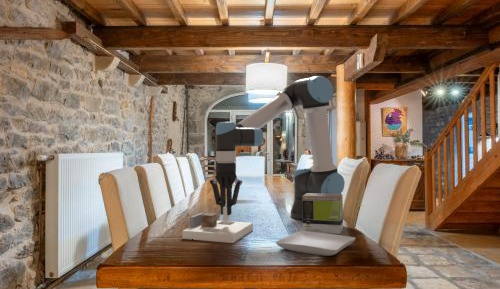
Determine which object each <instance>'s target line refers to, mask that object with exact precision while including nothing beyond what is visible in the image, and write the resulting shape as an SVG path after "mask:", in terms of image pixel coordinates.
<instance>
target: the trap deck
mask: <svg viewBox="0 0 500 289" xmlns="http://www.w3.org/2000/svg"><path fill="white" fill-rule="evenodd" d="M205 213H206V212H200V213H197V214H194V215H192V216H190V217H189V227H188V228H185V229H184V230H182V240H183V239H184V240H192V239H193V240H195V241H205V242H207V241H208V242H217V243H230V244H231V243H232V244H234V243H235V242H237V241H239V240H241V239H242V238H243V237H245V236H246V235H248V234H249V233H251V232H253V231H254V230H253V228H254V226H253V225H254V222H246V221H245V222H244V221H230V220H229V223H228V224H223V220H218V219H217V225H216V226H214V227H201V215H203V214H205Z"/></svg>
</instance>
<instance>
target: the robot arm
mask: <svg viewBox="0 0 500 289" xmlns="http://www.w3.org/2000/svg"><path fill="white" fill-rule="evenodd" d="M275 96H276V97H274V98H272V99H270V100H269V101H268V102H267V103H265V104H264V105H262V106H261V107H260V108H258V109H256V110H255V111H253V112H252V113H251V114H249V115H248V116H246V117H245V118H244V119H242V120H241V121H239V122H238V123H236V122H234V121H219V122H217V123H216V125H215V161H216V164H215V169H216V170H215V172H216V174H215V175H214V176H215V177H214V178H212V179H210V180H209V183H210V186H212V190H213V191H212V192H213V195H214V200H215V205H217V206H219V207H220V215H222V221H223V224H228V223H229V221H230V216H231V215H232V206H235V205H237V202H238V198H239V193H240V189H241V188H240V187H241V186H242V184H243V180H241V179H239V178H238V176H237V174H236V172H237V166H236V164H237V163H235V162H236V159H237V158H236V153H237V152H236V150H237V149H236V148H237V147H238V148H239V147H253V148H254V147H260V146H262V144H263V142H264V132H263V130H262V128H263V127H264V126H266V125H268V124H269V123H271V121H273V120H275V119H276V118H277V117H279V116H280V115H281V114H283V113H284V112H286V111H288V112H289V111H291V110H292V109H293V108H296V107H300V106H302V110H303V111H305V113H306V115H307V122H308V123H307V124H308V132H309V138H310V139H309V140H310V145H311V152H312V153H311V155H312V162H313V163H312V164H313V166H312V167H309V168H299V169H295V171H294V173H293V174H294V176H293V193H294V194H293V195H294V197H293V203H292V207H291V210H290V217H291V218H292V219H296V220H297V219H298V220H302V196H303V195H305V194H307V193H320V194H342V192H344V190H345V185H346V184H345V178H344V177H343V176H342V174H341V173H339V171H338V166H337V165H335V164H334V161H333V152H332V145H331V134H330V129H329V127H330V126H329V120H328V112H327V111H328V109H329V107H330V101H331V100H332V98H333V96H334V87H333V84H332V82H331V81H330V80H329V79H328V78H327V77H325V76H322V75H315V76H311V77H306V78H301V79H297V80H295V81H293V82H291V83H290V84H289V85H286V87H284V88H283V89H282V90H280V91H279V92H277V93H276V95H275ZM218 184H219V186H218ZM234 184H235V185H234ZM233 185H234V187H233ZM219 189H220V190H219ZM232 192H233V193H232Z"/></svg>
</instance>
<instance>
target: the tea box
mask: <svg viewBox="0 0 500 289" xmlns="http://www.w3.org/2000/svg"><path fill="white" fill-rule="evenodd" d="M343 199H344V198H343V194H342V193H341V194H320V193H307V194H305V195H303V196H302V219H301V220H302V223H301V225H302V231H306V232H317V233H327V234H335V235H341V233H342V232H343V228H344V215H343V214H344V210H343V209H344V207H343V206H344V203H343Z"/></svg>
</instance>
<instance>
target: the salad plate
mask: <svg viewBox="0 0 500 289" xmlns="http://www.w3.org/2000/svg"><path fill="white" fill-rule="evenodd" d="M355 240H356V237H354V236H349V235H341V234H332V233H317V232H306V231H303V230H300V231H297V232H295V233H292V234H290V235H288V236H284V238H281V239H279V240H277V241H276V242H275V244H276V245H277V246H279V247H281V248H282V249H283V250H284V249H285V250H288V251H290V252H297V253H304V254H310V255H315V256H316V255H317V256H324V257H325V256H326V257H329V256H330V257H331V256H334V255H336V254H338V253H339V252H341V251H342V250H343V249H344V248H347V247H348V246H350V245H352V244H353V243H354V242H355Z"/></svg>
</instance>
